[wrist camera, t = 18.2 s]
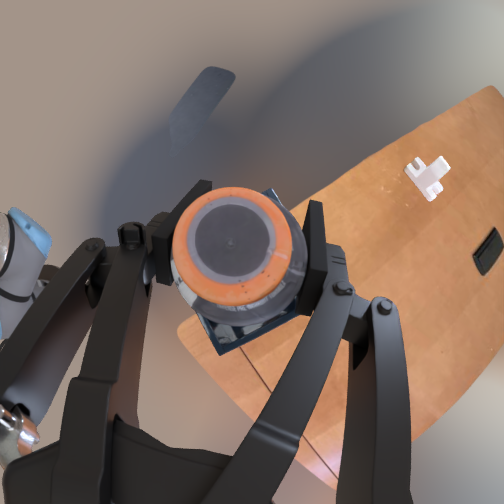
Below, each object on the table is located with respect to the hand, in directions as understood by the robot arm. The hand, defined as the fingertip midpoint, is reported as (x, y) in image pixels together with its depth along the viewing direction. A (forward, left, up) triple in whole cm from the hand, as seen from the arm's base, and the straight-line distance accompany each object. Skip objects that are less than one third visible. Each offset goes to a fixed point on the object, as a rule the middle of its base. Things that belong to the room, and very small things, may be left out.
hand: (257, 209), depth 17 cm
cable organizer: (+44, 0, -38) cm, 58 cm away
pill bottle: (-2, -3, -4) cm, 5 cm away
